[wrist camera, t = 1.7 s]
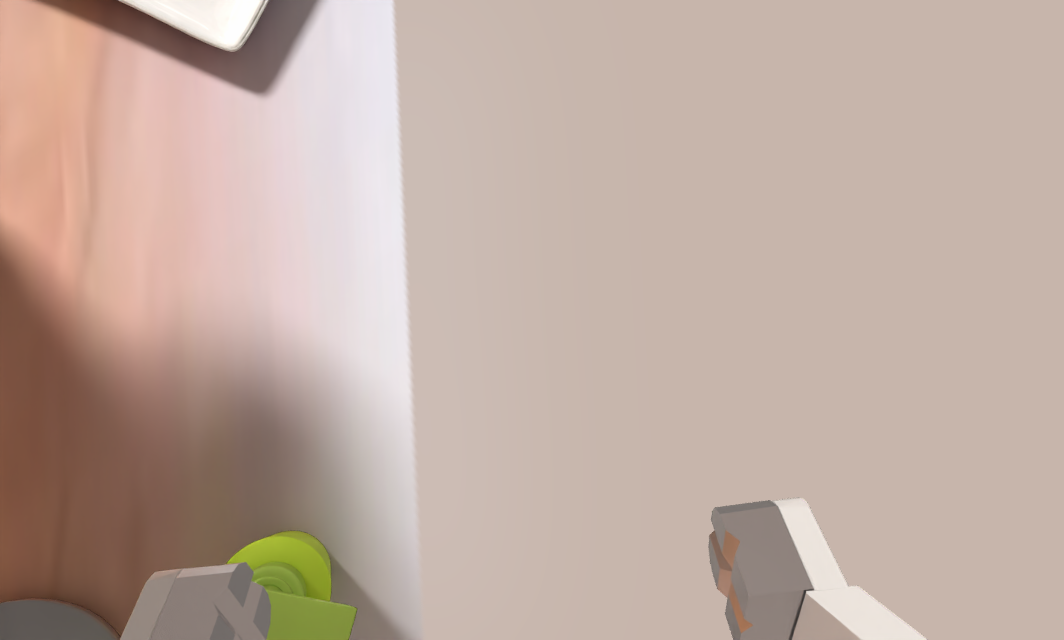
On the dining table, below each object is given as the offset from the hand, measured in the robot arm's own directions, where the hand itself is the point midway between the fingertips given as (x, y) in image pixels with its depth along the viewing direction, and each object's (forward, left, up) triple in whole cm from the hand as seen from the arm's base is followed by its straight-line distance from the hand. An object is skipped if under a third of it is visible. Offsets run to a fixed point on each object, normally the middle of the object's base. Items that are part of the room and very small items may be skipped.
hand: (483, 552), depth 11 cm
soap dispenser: (-5, -3, -40) cm, 41 cm away
